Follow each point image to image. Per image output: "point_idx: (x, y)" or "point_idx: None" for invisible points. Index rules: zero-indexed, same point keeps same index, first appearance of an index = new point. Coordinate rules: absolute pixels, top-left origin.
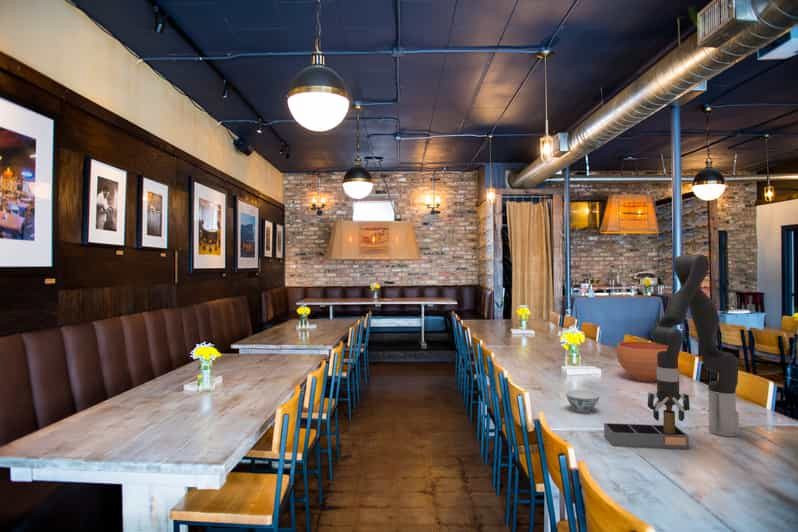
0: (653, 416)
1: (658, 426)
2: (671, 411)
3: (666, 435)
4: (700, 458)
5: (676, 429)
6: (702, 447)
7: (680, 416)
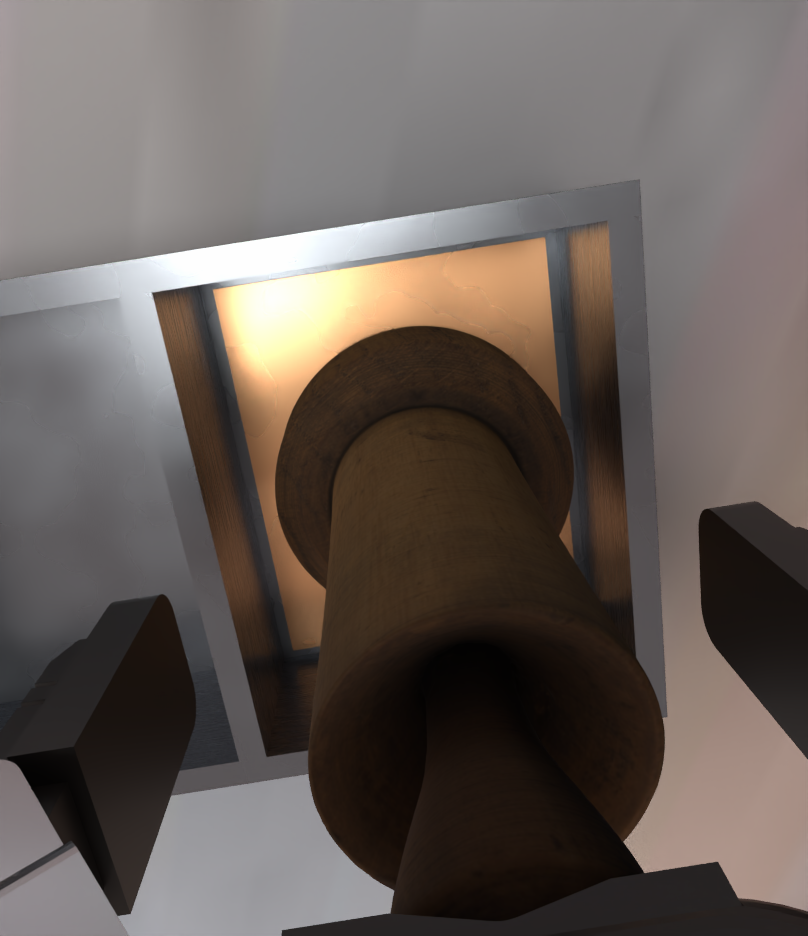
0: (52, 676)
1: (277, 271)
2: (586, 656)
3: None
4: (630, 837)
5: (601, 309)
6: (804, 493)
7: (761, 677)
